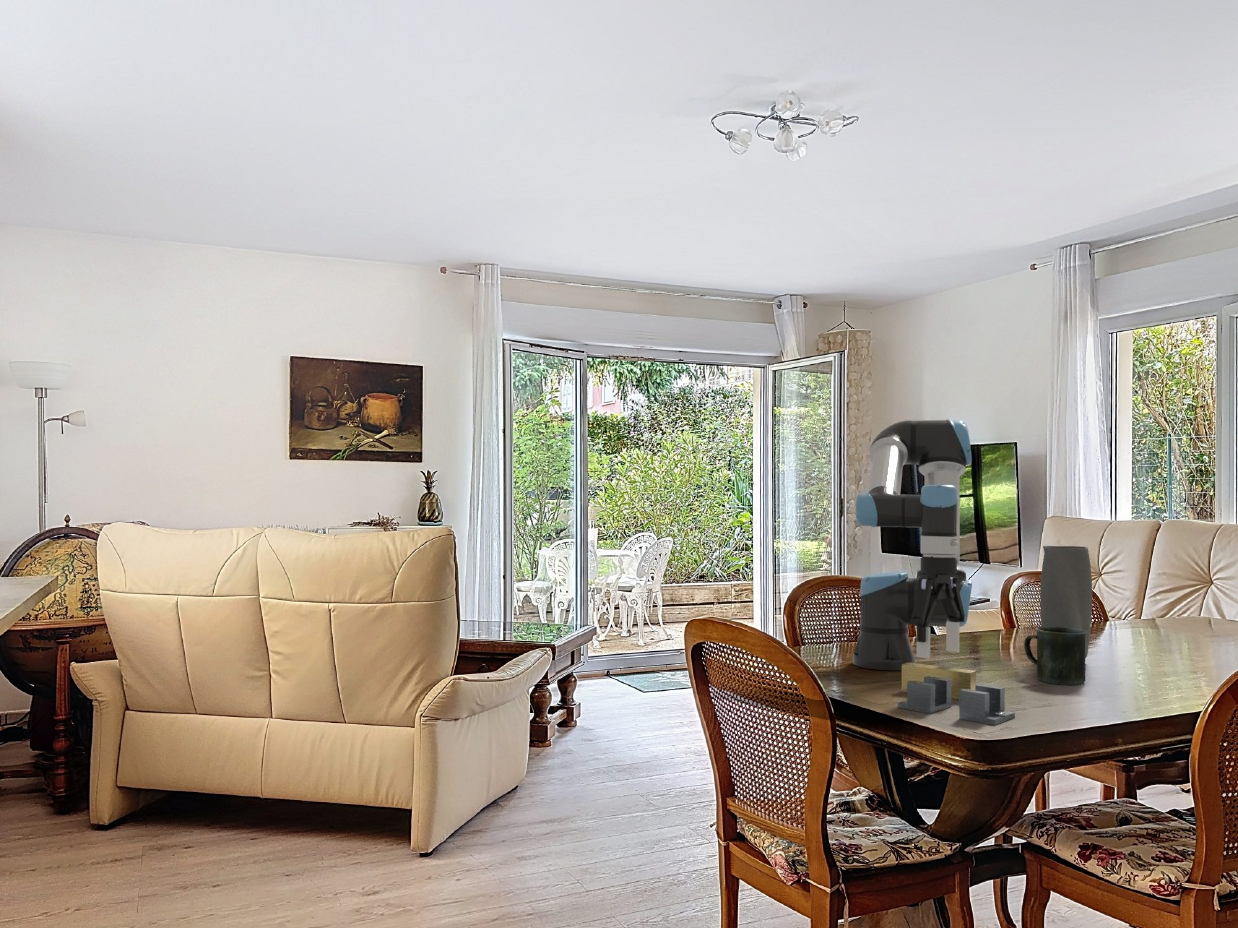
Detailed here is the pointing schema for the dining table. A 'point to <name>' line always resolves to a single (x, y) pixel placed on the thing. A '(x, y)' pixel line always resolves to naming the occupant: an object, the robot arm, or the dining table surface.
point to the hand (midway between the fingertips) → (938, 654)
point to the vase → (1066, 589)
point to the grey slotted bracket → (928, 695)
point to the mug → (1059, 655)
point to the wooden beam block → (939, 676)
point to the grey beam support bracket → (984, 705)
